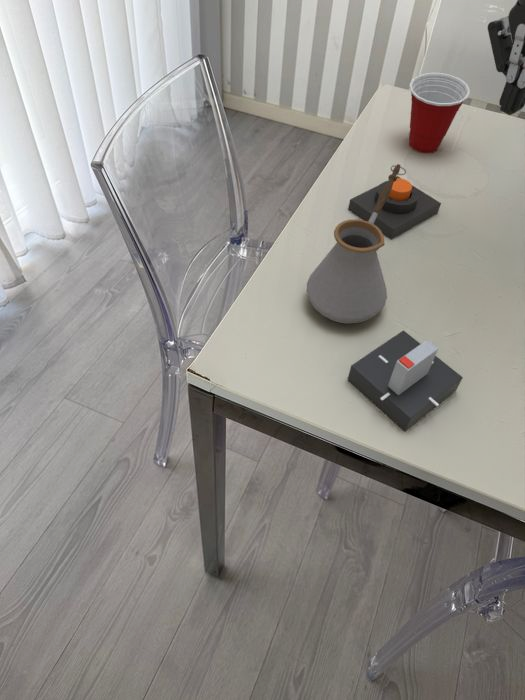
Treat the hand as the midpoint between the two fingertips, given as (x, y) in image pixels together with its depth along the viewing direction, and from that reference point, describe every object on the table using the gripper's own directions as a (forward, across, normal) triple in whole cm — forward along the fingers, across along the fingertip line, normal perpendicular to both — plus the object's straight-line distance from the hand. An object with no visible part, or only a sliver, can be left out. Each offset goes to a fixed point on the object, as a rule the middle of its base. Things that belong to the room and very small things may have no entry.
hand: (508, 111), depth 74 cm
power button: (+20, -13, -2) cm, 23 cm away
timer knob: (+20, +15, -29) cm, 38 cm away
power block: (+23, -13, -2) cm, 26 cm away
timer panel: (+23, +14, -28) cm, 39 cm away
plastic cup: (+24, -24, +19) cm, 39 cm away
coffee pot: (+23, -3, -20) cm, 30 cm away
